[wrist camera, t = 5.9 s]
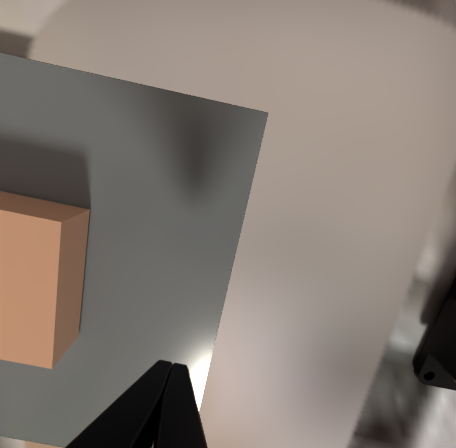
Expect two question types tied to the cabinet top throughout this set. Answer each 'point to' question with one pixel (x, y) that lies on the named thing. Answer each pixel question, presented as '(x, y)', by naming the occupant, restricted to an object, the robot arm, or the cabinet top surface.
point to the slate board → (125, 229)
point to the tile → (40, 278)
